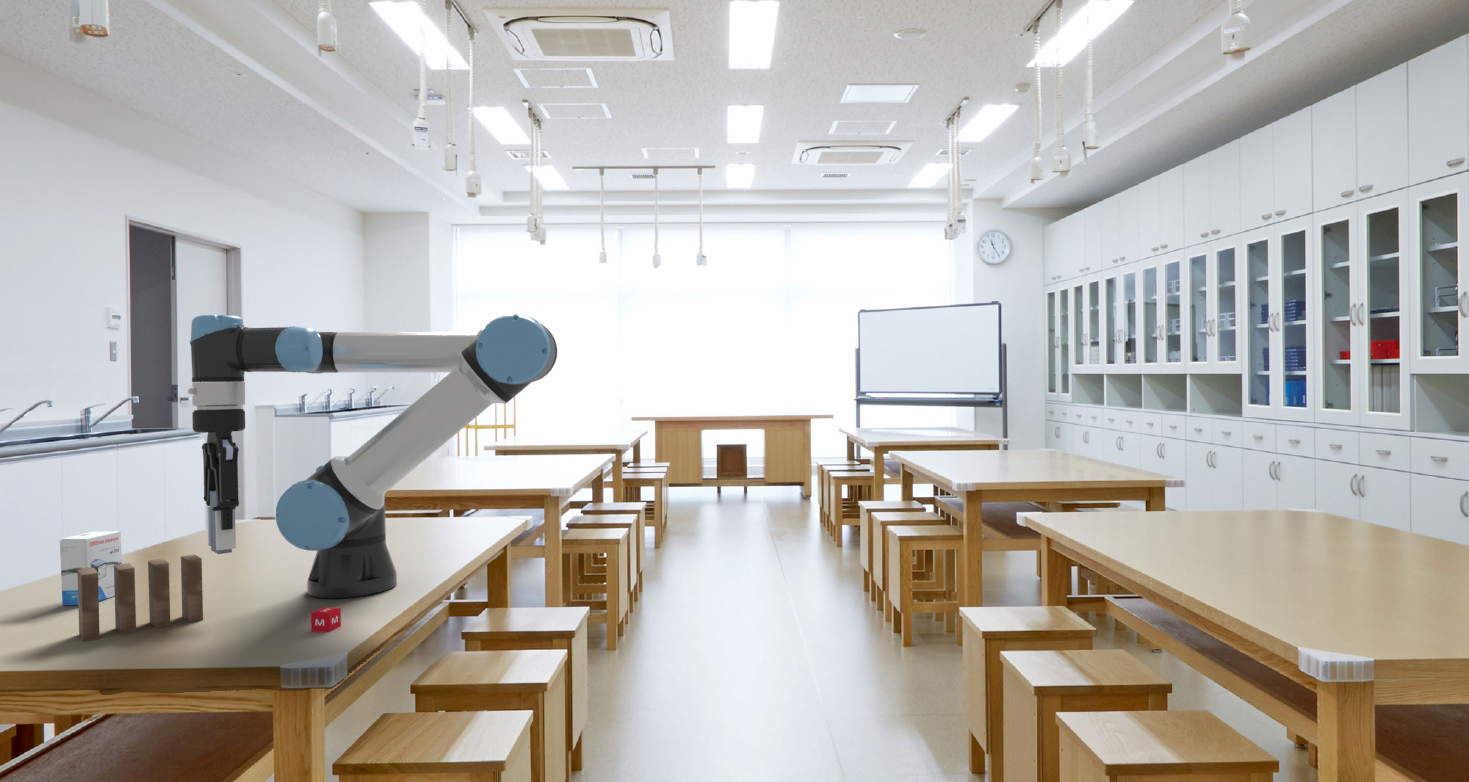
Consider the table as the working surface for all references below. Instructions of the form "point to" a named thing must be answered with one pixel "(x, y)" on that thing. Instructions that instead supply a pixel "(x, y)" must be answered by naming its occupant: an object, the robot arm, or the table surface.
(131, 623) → the domino
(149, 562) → the domino
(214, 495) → the domino
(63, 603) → the ink box
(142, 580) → the table surface
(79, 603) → the end domino
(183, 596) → the domino
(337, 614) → the red letter cube
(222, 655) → the table surface
